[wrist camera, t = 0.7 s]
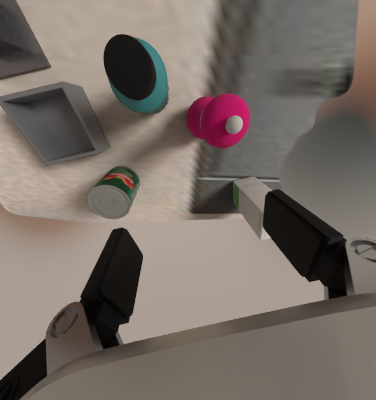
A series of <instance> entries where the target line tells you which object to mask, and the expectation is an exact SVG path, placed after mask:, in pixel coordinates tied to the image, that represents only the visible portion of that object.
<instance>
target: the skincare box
mask: <svg viewBox="0 0 376 400" xmlns="http://www.w3.org/2000/svg"><path fill="white" fill-rule="evenodd" d="M269 191H272V190H271V189H270V188H268V187H267V186H266V185H265V184H263V183H262V182H261V181H259V180H258V179H257V178H256V177H254V176H252V177H247V178H243V179H239V180H235V181H233V198H234V204H235V205H236V207H237V208H238V210H239V211H240V212H241V214H242V215H243V216H244V218H245V219H246V221H247V222H248V223H249V225H250V226H251V228H252V229H253V230H254V232H255V233H256V234H257V236H258V237H259V239H260V240H265V239H269V238H271V237H270V236H269V235H268V234H267V232H266V231H265V230H264V228H263V214H264V203H265V195H266V194H267V193H268V192H269Z"/></svg>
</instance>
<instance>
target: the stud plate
mask: <svg viewBox="0 0 376 400" xmlns="http://www.w3.org/2000/svg"><path fill="white" fill-rule="evenodd" d="M0 11H1V13H2V15H3V16H4V18H5V20H6V21H7V23H8V25H9V27H10V28H11V30H12V32H13V33H14V35H15V37H16V39H17V40H18V42H19V44H20V45H21V47H22V49H21V50H16V51H12V52H8V53H4V54H0V79H2V78H6V77H10V76H14V75H18V74H22V73H27V72H31V71H35V70H39V69H43V68H48V67H51V66H50V64H49V62H48V60H47V58H46V56H45V54H44V53H43V51H42V49H41V47H40V45H39V43H38V41H37V39H36V38H35V36H34V34H33V32H32V30H31V28H30V26H29V24H28V23H27V21H26V19H25V17H24V15H23V13H22V11H21V9H20V8H19V6H18V4H17V2H16V0H0Z"/></svg>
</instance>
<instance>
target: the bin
mask: <svg viewBox="0 0 376 400" xmlns="http://www.w3.org/2000/svg"><path fill="white" fill-rule="evenodd" d="M0 105H1V107H2V108H3V109H4V111H5V112H6V113H7V115H8V116H9V117H10V119H11V120H12V121H13V123H14V124H15V125H16V126H17V128H18V129H19V130H20V132H21V133H22V134H23V136H24V137H25V138H26V140H27V141H28V142H29V144H30V145H31V146H32V147H33V149H34V150H35V151H36V153H37V154H38V155H39V157H40V158H41V159H42V161H43V162H44V163H45V165H50V164H55V163H59V162H63V161H68V160H72V159H76V158H81V157H85V156H89V155H94V154H98V153H101V152H103V151H105V150H106V149H108V148H110V145H109V143H108V141H107V139H106V136H105V134H104V132H103V130H102V128H101V126H100V124H99V122H98V120H97V117H96V115H95V113H94V111H93V109H92V107H91V105H90V103H89V101H88V98H87V96H86V94H85V92H84V90H83V88H82V87H80V86H77V85H73V84H70V83H66V82H59V83H55V84H51V85H47V86H43V87H38V88H34V89H30V90H26V91H22V92H17V93H13V94H9V95H5V96H0Z"/></svg>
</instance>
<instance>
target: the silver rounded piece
mask: <svg viewBox="0 0 376 400" xmlns="http://www.w3.org/2000/svg"><path fill="white" fill-rule="evenodd" d="M21 49H22V47H21V45H20V44H19V42H18V40H17V39H16V37H15V35H14V33H13V32H12V30H11V28H10V27H9V25H8V23H7V21H6V20H5V18H4V16H3V15H2V13H1V11H0V54H4V53H8V52H12V51H16V50H21Z"/></svg>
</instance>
